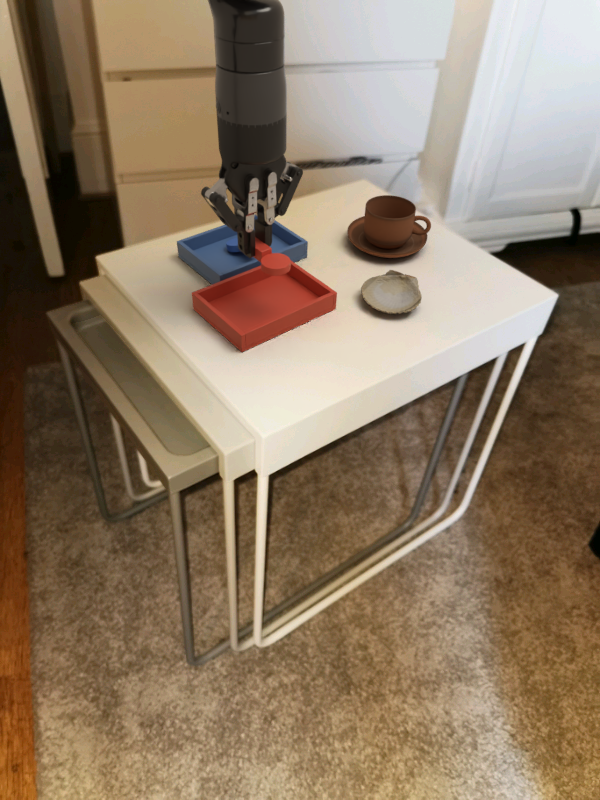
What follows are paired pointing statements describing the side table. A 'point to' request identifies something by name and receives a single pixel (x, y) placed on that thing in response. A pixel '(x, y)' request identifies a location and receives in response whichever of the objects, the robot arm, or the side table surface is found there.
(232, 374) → the side table surface
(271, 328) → the red tray
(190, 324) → the side table surface
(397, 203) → the cup and saucer
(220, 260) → the blue tray
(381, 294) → the seashell
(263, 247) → the red spoon
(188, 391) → the side table surface
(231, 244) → the blue spoon
